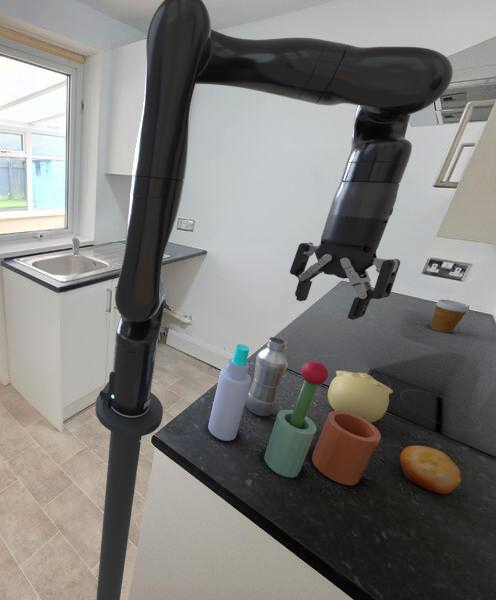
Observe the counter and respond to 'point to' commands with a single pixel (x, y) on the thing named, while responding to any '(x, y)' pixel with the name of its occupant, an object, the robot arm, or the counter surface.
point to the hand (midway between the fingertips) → (325, 308)
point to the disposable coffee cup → (448, 315)
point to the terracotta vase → (345, 447)
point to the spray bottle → (230, 396)
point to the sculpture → (359, 395)
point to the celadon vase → (289, 445)
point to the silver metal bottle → (267, 377)
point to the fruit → (430, 469)
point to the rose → (308, 390)
